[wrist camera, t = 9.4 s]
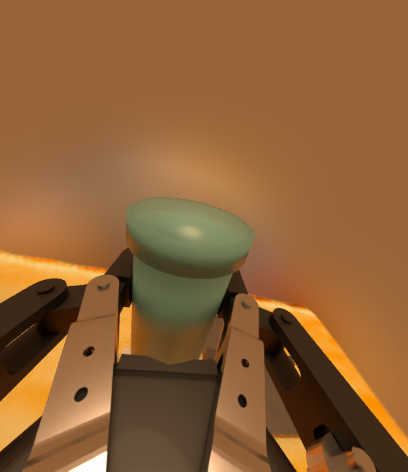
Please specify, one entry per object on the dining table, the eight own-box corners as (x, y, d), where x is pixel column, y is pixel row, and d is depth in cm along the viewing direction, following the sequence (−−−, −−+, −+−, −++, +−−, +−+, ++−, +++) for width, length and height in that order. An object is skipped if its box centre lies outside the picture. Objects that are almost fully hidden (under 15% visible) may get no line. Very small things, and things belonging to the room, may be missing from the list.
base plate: (204, 436, 17) (214, 424, 15) (201, 317, 29) (206, 303, 27) (317, 437, 19) (336, 426, 17) (269, 325, 31) (277, 312, 29)
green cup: (108, 388, 9) (91, 230, 4) (141, 302, 14) (149, 191, 10) (208, 393, 9) (278, 263, 5) (204, 310, 15) (237, 210, 10)
